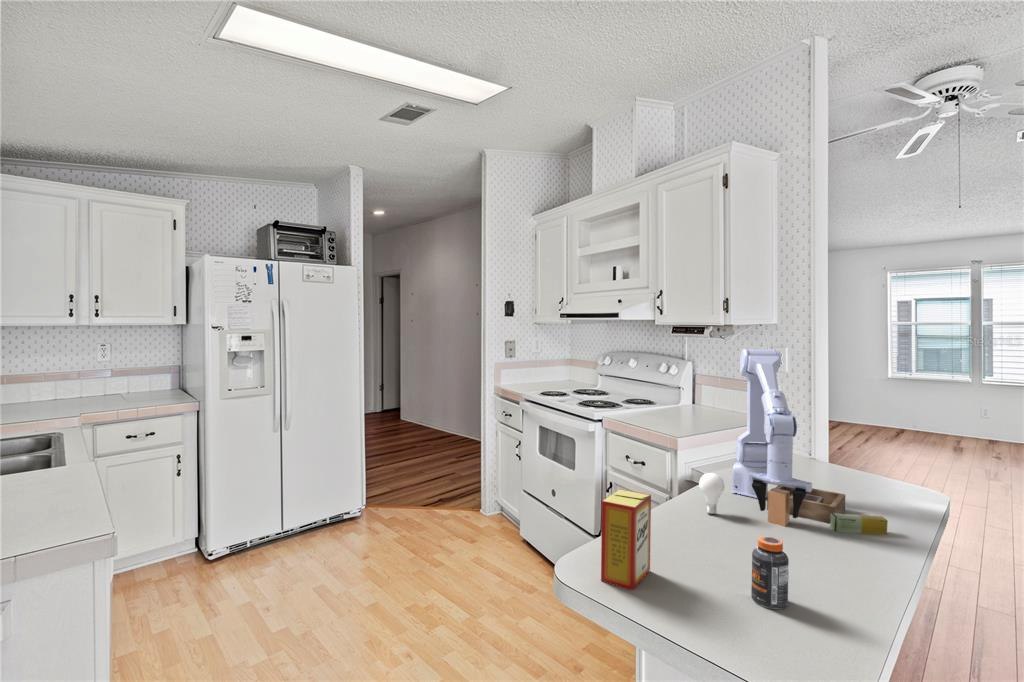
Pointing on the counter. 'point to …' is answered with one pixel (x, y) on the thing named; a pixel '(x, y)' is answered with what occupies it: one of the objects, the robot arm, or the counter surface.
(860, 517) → the medication box
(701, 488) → the lightbulb
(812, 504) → the walled box
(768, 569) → the pill bottle
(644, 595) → the counter surface
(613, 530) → the baking soda box
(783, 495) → the peach plain square-edged block
